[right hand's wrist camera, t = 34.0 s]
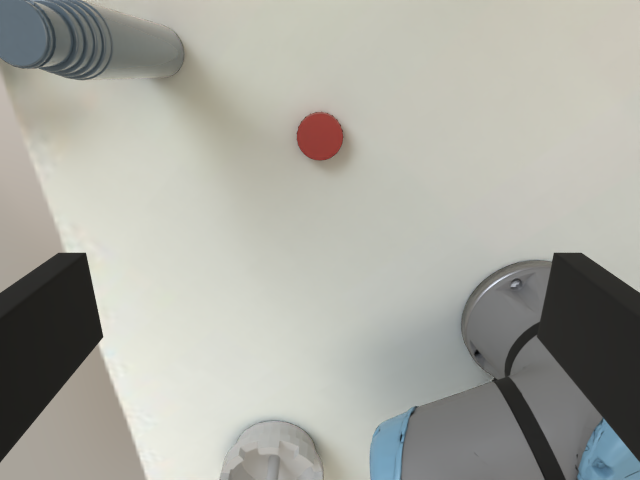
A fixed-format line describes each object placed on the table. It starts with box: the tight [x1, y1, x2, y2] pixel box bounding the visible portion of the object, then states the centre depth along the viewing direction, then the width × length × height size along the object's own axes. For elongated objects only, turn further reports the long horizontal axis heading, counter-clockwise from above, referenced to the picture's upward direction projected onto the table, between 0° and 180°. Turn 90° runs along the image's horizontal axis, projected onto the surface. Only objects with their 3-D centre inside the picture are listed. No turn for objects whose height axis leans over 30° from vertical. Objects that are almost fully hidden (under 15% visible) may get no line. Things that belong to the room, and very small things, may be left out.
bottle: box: [0, 0, 184, 80], centre depth 32 cm, size 5×5×21 cm
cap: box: [297, 112, 343, 160], centre depth 44 cm, size 5×5×2 cm
